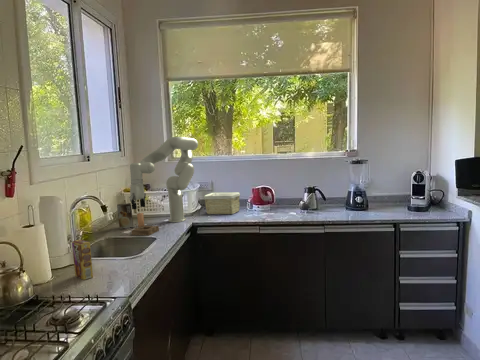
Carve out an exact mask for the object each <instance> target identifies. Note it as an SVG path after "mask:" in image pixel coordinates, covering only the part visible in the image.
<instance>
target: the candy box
mask: <svg viewBox="0 0 480 360" xmlns="http://www.w3.org/2000/svg"><path fill="white" fill-rule="evenodd" d="M71 245H72V256H73V258H72V259H73V266H74V276H75V277H76V278H78V279H81V280H84V281H86V280H89V279H91V278H94V274H93V263H92V250H91V242H90V241H87V240H84V239H76V240H72V241H71Z"/></svg>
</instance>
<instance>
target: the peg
mask: <svg viewBox="0 0 480 360" xmlns="http://www.w3.org/2000/svg"><path fill="white" fill-rule="evenodd" d="M136 217H137V228H138V227H141V226H145V217H144V213H143V212H139V213H136Z"/></svg>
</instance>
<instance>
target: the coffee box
mask: <svg viewBox="0 0 480 360" xmlns="http://www.w3.org/2000/svg"><path fill="white" fill-rule="evenodd" d="M116 207H117V208H116V209H117V215H118V216H117V217H118V226H119V228H118V229H120V228H125V229H131V228H130V227H133V228H134V218H133V209H132V203H131V202H128V203H120V204H119V203H118V204H117V206H116Z"/></svg>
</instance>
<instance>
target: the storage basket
mask: <svg viewBox="0 0 480 360" xmlns="http://www.w3.org/2000/svg"><path fill="white" fill-rule="evenodd" d="M240 196H241V193H240V192H238V191H237V192H232V191H231V192H230V191H229V192H210V193H207V194H205V195H204V196H203V197H204V198H203V200H204V203H205V208H206V210H205V211H206V214H207V215H233V214H236V213H238V212H239V211H240Z"/></svg>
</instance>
